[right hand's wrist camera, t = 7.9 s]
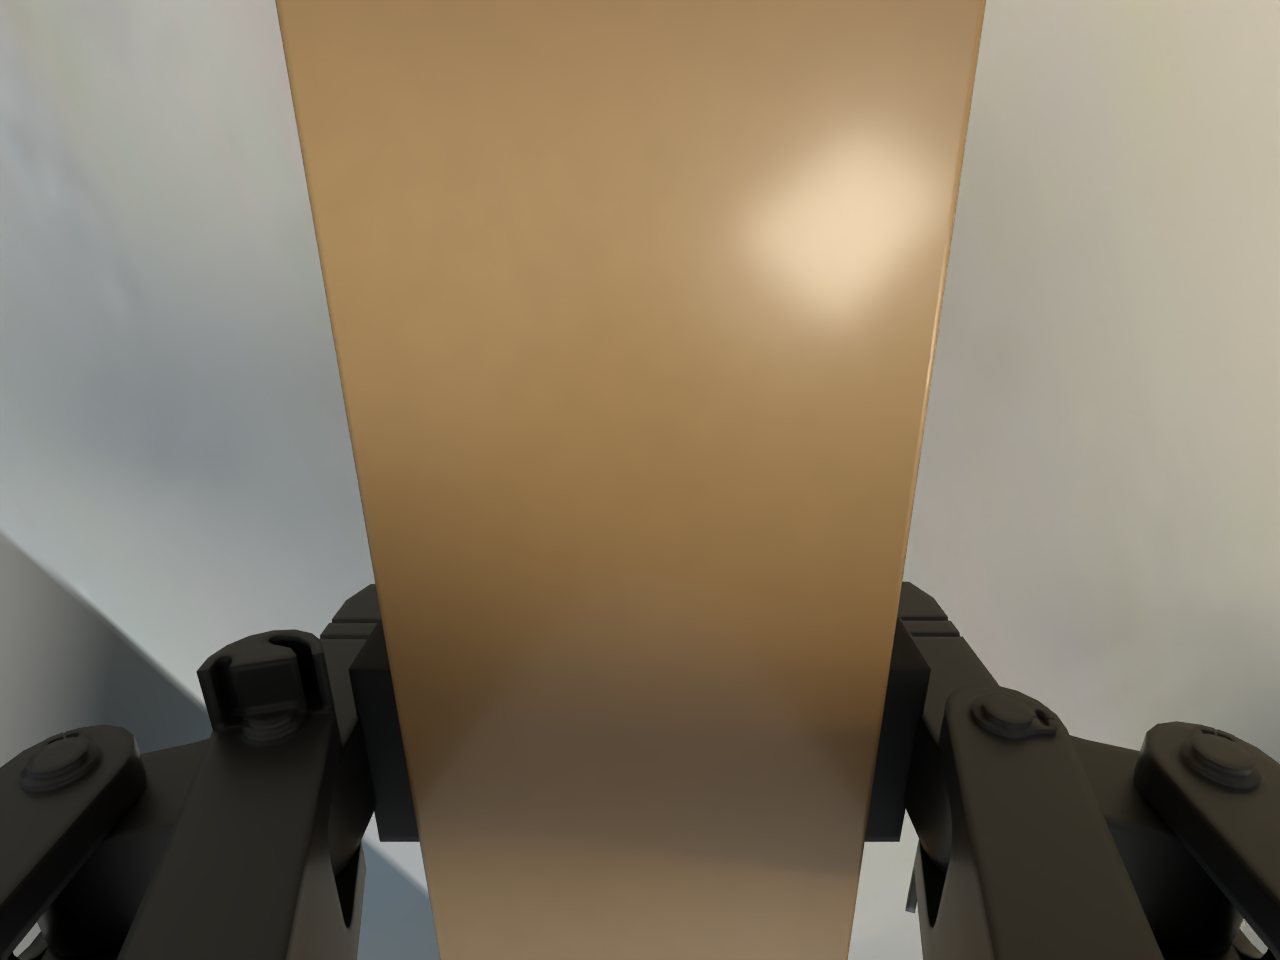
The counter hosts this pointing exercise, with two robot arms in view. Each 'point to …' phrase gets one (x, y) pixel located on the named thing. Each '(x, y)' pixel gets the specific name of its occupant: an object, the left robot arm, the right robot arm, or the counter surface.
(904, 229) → the post
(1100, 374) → the counter surface
